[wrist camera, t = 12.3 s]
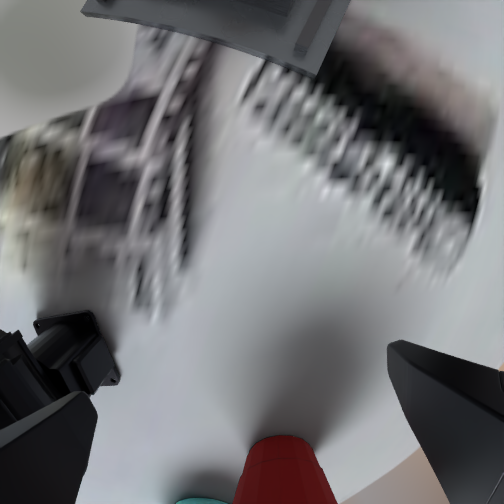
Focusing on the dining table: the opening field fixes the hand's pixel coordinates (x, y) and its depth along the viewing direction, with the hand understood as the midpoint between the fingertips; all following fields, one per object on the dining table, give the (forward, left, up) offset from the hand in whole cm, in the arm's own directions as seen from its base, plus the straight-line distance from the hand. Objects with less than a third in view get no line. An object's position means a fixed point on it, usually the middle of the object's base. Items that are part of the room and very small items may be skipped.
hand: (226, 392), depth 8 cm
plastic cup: (-1, -18, -13) cm, 22 cm away
